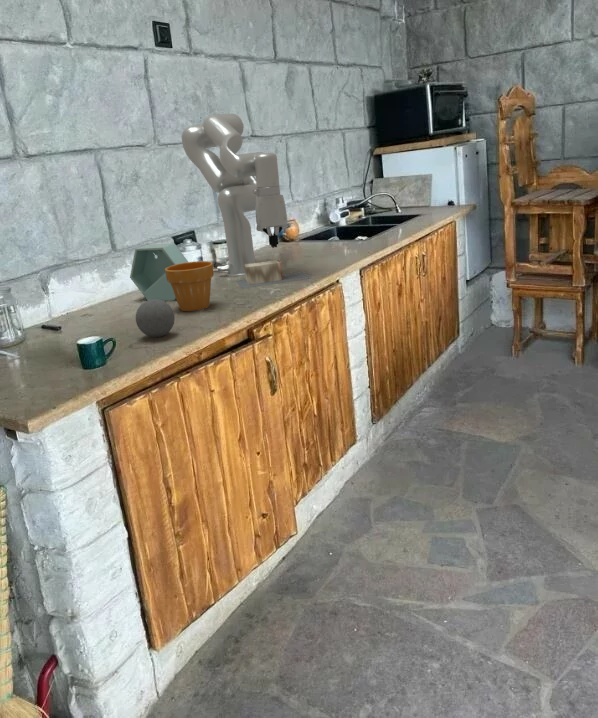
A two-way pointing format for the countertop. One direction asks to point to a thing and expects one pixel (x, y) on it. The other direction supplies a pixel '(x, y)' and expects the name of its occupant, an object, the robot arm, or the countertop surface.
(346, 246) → the countertop surface
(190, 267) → the flower pot
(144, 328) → the decorative ball
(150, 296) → the planter
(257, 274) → the birch block
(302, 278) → the slate mat
